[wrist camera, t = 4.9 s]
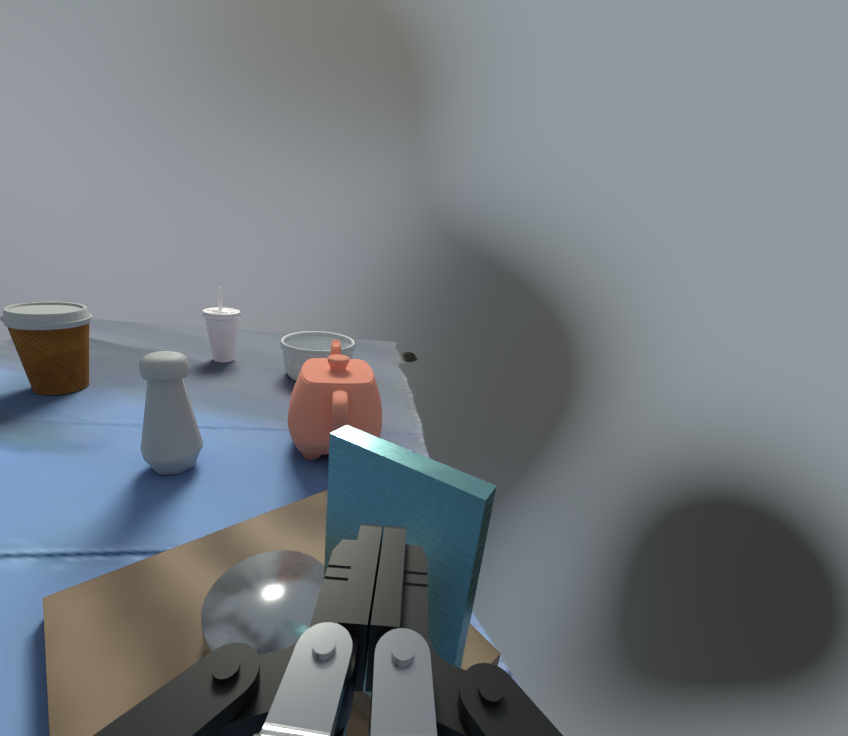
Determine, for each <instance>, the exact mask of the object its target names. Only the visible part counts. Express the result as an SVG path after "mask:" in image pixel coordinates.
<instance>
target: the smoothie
mask: <svg viewBox="0 0 848 736" xmlns="http://www.w3.org/2000/svg"><path fill="white" fill-rule="evenodd" d="M218 298H219V299H218V300H219V308H207V309H204V310H203V317H205V320H206V326H207V330H208V335H209V340H210V345H211V350H212V355H213V360H214V361H215V362H221V363H225V362H231V361H234V359H235V349H236V338H237V328H238V318H239V317H240V311H239V310H237V309H233V308H222V295H221V287H218Z"/></svg>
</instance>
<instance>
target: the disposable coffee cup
mask: <svg viewBox="0 0 848 736" xmlns="http://www.w3.org/2000/svg"><path fill="white" fill-rule="evenodd" d="M91 318H92V314H91V313H89V311H88V309H87V307H86V306H85V305H82V304H78V303H70V302H31V303H21V304H15V305H10V306H7V307H5V308H4V309H3V316H2V317H1V318H0V319H1V321H2V322H4V324H5V326H7V327H8V330H9V332H10V335H11V337H12V340H13V342H14V345H15V347H16V350H17V352H18V354H19V357H20V360H21V362H22V365H23V367H24V370H25V372H26V374H27V377H28V379H29V382H30V384H31V387H32V390H33V392H34V393H37V394H41V395H60V394H68V393H72V392H76V391H79V390H82V389H84V388H86V387H87V386H88V385H89V323H90V322H91Z"/></svg>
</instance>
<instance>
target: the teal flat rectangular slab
mask: <svg viewBox="0 0 848 736" xmlns="http://www.w3.org/2000/svg"><path fill="white" fill-rule="evenodd" d="M495 492H496V485H493V484H491V483H488V482H486V481H484V480H481V479H478V478H476V477H474V476H471V475H469V474H466V473H464V472H461V471H459V470H456V469H454V468H451V467H449V466H447V465H444V464H442V463H439V462H437V461H434V460H432V459H430V458H427V457H425V456H422V455H420V454H417V453H415V452H412V451H410V450H407V449H405V448H403V447H400V446H398V445H395V444H393V443H390V442H388V441H385V440H383V439H380V438H378V437H376V436H373V435H371V434H368V433H366V432H363V431H361V430H358V429H356V428H353V427H351V426H349V425H345V426H343V427H341V428H339V429H337V430H335V431H333V432H331V433H330V442H329V466H328V491H327V515H326V539H325V563H324V565H323V564H322V563H321V562H320V561H318V560H317V559H315V558H314V557H312V556H310V555H307V554H305V553H301V552H298V551H291V550H277V551H269V552H265V553H260V554H257V555H254V556H252V557H249V558H247V559H245V560H243V561H241V562H239V563H237V564H236V565H234V566H233V567H231V568H230V569H229V570H227V571H226V572H225V573H224V574H223V575H222V576H220V577H219V578H218V580H217V581H216V582H215V583H214V584H213V586H212V587H211V589H210V590H209V592H208V594H207V595H206V597H205V600H204V603H203V606H202V611H201V625H202V637H203V647H204V652H205V655H208V654H209V653H210V652H212V651H213V650H215V649H217V648H218V647H221V646H223V645H226V644H229V643H234V642H241V643H246V644H249V645H250V646H252V647H253V648H254V649H255V650H256V652H257V653H258V656H259V655H263V654H267V653H271V652H275V651H279V650H282V649H285V648H287V647H289V646H291V645H293V644H294V643H295V642H297V641H298V640H299V638H300V637H301V635H302V634H303V633H304V632H305V631H306V630H307V629H308V628H309V626H310V623H311V620H312V617H313V614H314V610H315V607H316V604H317V600H318V597H319V594H320V590H321V587H322V584H323V580H324V578H325V574H326V570H327V567H328V564H329V561H330V557H331V554H332V551H333V550H334V548H335V547H336V546H337V545H338V544H339V543H340V542H341V540H342V539H346V540H357V539H358V534H359V530H360V526H361V524H371V525H382V526H383V535H384V528H385V526H395V527H406V543H405V544H406V545H418V546H422V548H423V550H424V552H425V554H426V556H427V558H428V637H429V641H430V643H431V646H432V647H433V649H434V650H435V652H436V653H437V654H438V655H439V656H440V657H441V658H442V659H444V660H445V661H446V662H448V663H450V664H452V665H454V666H457V667H459V668H461V665H462V660H463V654H464V649H465V644H466V639H467V634H468V629H469V624H470V619H471V614H472V609H473V604H474V599H475V594H476V589H477V583H478V578H479V573H480V568H481V563H482V558H483V553H484V548H485V543H486V538H487V533H488V528H489V522H490V518H491V512H492V507H493V502H494V497H495ZM383 535H382V542H383ZM381 548H382V547H381ZM367 662H368V657H367ZM366 675H367V664H366V671H365V679H364V686H363V691H354V696H353V703H352V704H353V705H354V706H356V707H357V708H358V709H359V710H361V711H362V712H363V713H364V714H366V715H367V716H368V717H369V715H370V702H371V692H365V688H366Z"/></svg>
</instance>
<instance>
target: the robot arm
mask: <svg viewBox="0 0 848 736" xmlns="http://www.w3.org/2000/svg"><path fill="white" fill-rule="evenodd" d="M382 535H383V526H382V525H371V524H361V526H360V530H359V534H358V539H357V540H346V539H342V540H341V542H340V543H339V544H338V545H337V546H336V547H335V548H334V550H333V551H332V554H331V557H330V561H329V564H328V567H327V570H326V574H325V578H324V580H323V584H322V587H321V590H320V594H319V597H318V600H317V604H316V607H315V610H314V614H313V617H312V620H311V623H310V626H309V628H308V629H307V630H306V631H305V632H304V633H303V634H302V635H301V637H300V638H299V640H298V641H297V642H295V643H294V644H293V645H291V646H289V647H287V648H285V649H282V650H279V651H275V652H271V653H267V654H263V655H259V656H258V653H257V652H256V650H255V649H254V648H253V647H252V646H250V645H249V644H246V643H241V642H234V643H229V644H226V645H223V646H221V647H218V648H217V649H215V650H213V651H212V652H210V653H209V654H208V655H206V656H205V657H203V658H202V659H200V660H199V661H198V662H196V663H195V664H193V665H192V666H191V667H189V668H188V669H186V670H185V671H183V672H182V673H181V674H179V675H178V676H176V677H175V678H174V679H172V680H171V681H169V682H168V683H166V684H165V685H164V686H162V687H161V688H159V689H158V690H157V691H155V692H154V693H152V694H151V695H149V696H148V697H147V698H145V699H144V700H142V701H141V702H140V703H138V704H137V705H135V706H134V707H132V708H131V709H130V710H128V711H127V712H125V713H124V714H123V715H121V716H120V717H118V718H117V719H115V720H114V721H113V722H111V723H110V724H108V725H107V726H106V727H104V728H103V729H101V730H100V731H98V732H97V733H96V734H94V735H93V736H345V735H346V731H347V726H348V720H349V717H350V714H351V709H352V703H353V696H354V691H363V686H364V679H365V671H366V664H367V675H366V688H365V692H371V702H370V715H369V726H368V736H563V735H562V734H561V733H560V732H559V731H558V730H557V729H556V728H555V726H554V725H553V724H552V723H551V722H550V721H549V719H548V718H547V717H546V716H545V715H544V714H543V713H542V712H541V710H539V708H538V707H537V706H536V705H535V704H534V703H533V701H532V700H531V699H530V698H529V697H528V696H527V695H526V694H525V692H524V691H523V690H522V689H521V688H520V687H519V686H518V685H517V683H516V682H515V681H514V680H513V679H512V678H511V677H510V676H509V675H508V674H507V673H506V672H505V671H504V670H503V669H501V668H500V667H498V666H496V665H493V664H490V663H477V664H475V665H472V666H471V667H469V668H468V669H467V670H464V669H461V668H459V667H457V666H454V665H452V664H450V663H448V662H446V661H445V660H444V659H442V658H441V657H440V656H439V655H438V654H437V653H436V652H435V650H434V649H433V647H432V646H431V643H430V641H429V637H428V558H427V556H426V554H425V552H424V550H423V548H422V546H418V545H406V544H405V543H406V527H395V526H385V528H384V535H383V542H382ZM381 547H382V548H381ZM367 657H368V662H367Z"/></svg>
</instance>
